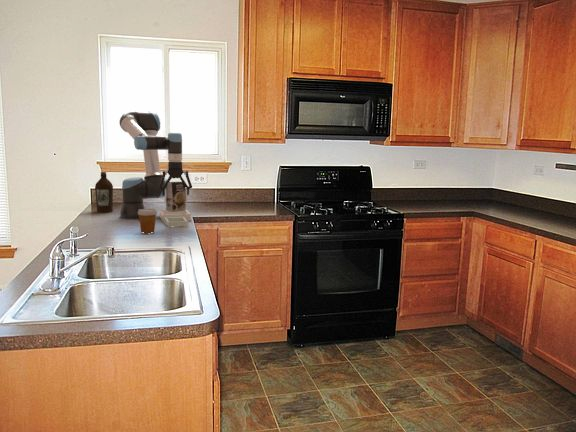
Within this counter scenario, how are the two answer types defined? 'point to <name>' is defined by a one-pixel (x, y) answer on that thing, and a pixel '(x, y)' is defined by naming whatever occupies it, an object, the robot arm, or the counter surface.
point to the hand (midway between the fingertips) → (175, 201)
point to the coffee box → (175, 197)
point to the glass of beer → (147, 220)
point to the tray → (176, 221)
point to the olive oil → (104, 194)
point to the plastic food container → (174, 214)
